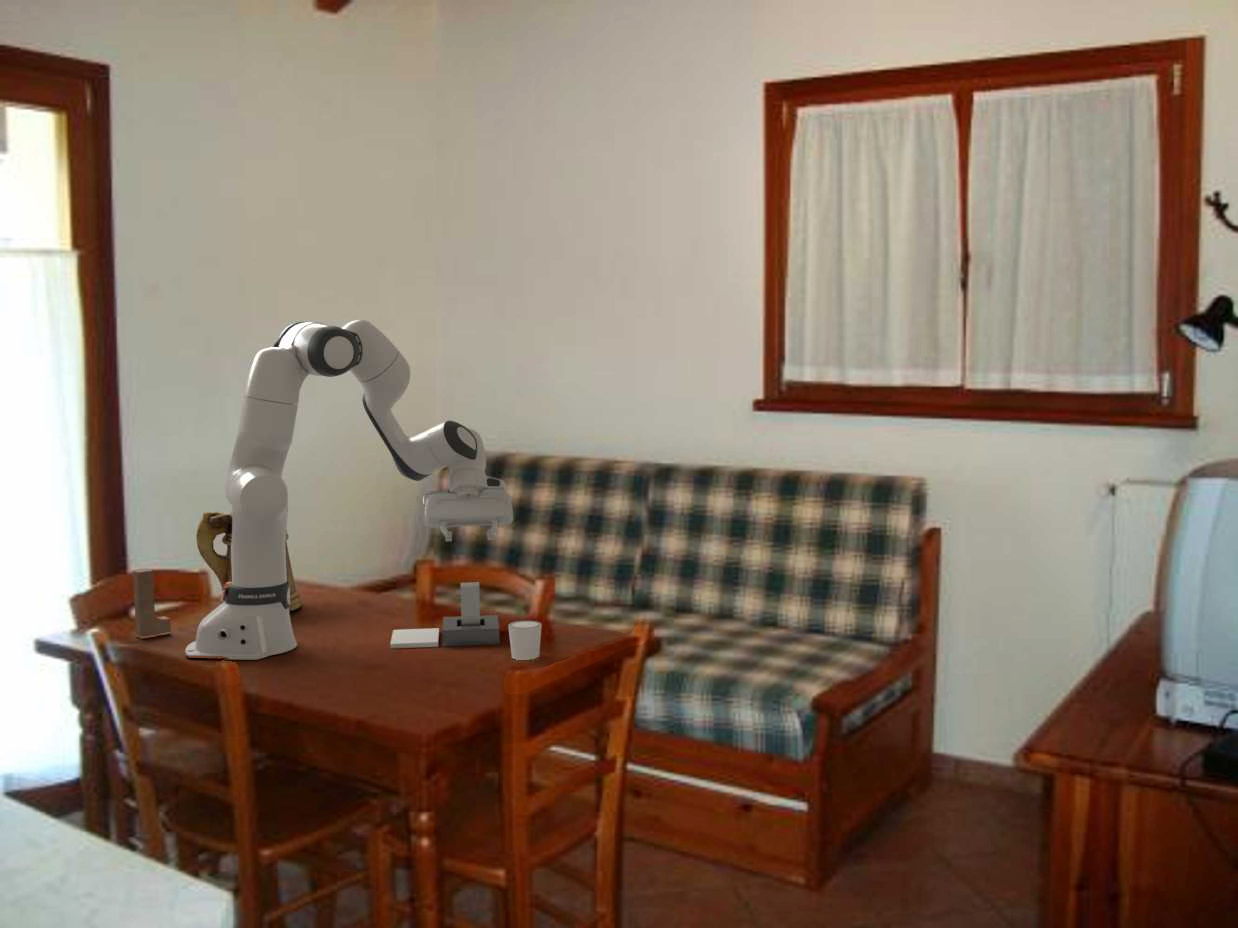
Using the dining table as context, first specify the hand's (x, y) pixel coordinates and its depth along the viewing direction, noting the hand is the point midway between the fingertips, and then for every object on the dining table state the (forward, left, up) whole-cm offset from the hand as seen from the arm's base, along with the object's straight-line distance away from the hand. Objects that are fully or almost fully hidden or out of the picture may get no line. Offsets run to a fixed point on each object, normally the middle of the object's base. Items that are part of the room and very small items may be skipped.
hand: (469, 539), depth 278 cm
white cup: (+11, -29, -20) cm, 37 cm away
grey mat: (-12, -12, -20) cm, 26 cm away
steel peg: (0, -12, -20) cm, 23 cm away
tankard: (-52, +21, -20) cm, 60 cm away
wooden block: (-70, 0, -20) cm, 73 cm away
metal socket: (0, -12, -20) cm, 23 cm away
